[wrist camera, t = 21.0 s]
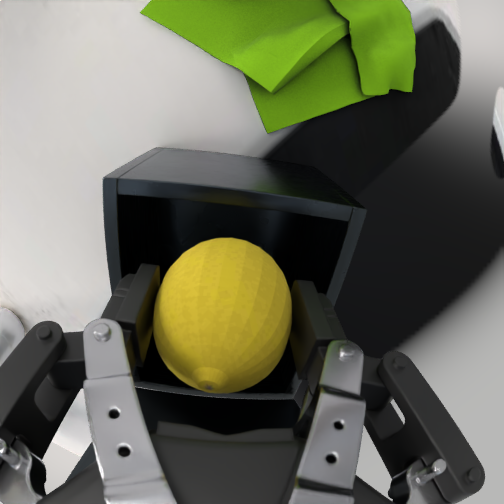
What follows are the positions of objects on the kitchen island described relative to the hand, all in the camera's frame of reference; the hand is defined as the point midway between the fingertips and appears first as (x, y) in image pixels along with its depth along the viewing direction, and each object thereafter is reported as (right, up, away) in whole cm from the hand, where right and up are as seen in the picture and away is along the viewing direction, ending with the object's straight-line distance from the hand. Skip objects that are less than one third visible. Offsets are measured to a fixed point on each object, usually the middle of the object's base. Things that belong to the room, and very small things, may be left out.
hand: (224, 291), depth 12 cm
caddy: (-1, +2, +13) cm, 13 cm away
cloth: (+4, +20, +3) cm, 21 cm away
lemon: (0, +1, +3) cm, 4 cm away
